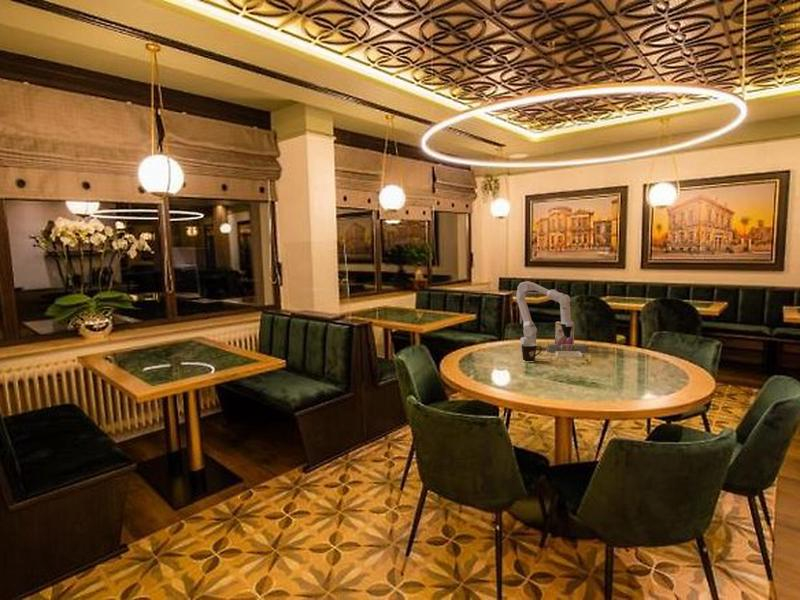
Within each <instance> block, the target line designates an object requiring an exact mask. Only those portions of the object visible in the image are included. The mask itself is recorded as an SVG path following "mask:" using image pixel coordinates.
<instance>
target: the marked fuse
mask: <svg viewBox="0 0 800 600" xmlns="http://www.w3.org/2000/svg"><path fill="white" fill-rule="evenodd" d="M560 347H561V351H572V344H561V346H560Z"/></svg>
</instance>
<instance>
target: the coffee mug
mask: <svg viewBox="0 0 800 600" xmlns="http://www.w3.org/2000/svg"><path fill="white" fill-rule="evenodd" d="M521 347H522V349H521V354H522V361H523V360H525V361H536V356H537V355H539V354H541V352H542V350H543V349H542V347H541V346H540V345H537V343H536V344H533V343H523V344H521ZM537 348H540V350H539V351H538V352H537Z"/></svg>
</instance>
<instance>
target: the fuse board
mask: <svg viewBox="0 0 800 600" xmlns="http://www.w3.org/2000/svg"><path fill="white" fill-rule="evenodd" d="M545 349H546V350H545V351H546V352H545V354H549V353H548V346H546V348H545ZM588 350H589V348H588V346H586V353H584V354H590V353H589V351H588ZM559 351H561V346H559ZM572 351H575V346H573V347H572Z"/></svg>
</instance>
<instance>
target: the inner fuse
mask: <svg viewBox="0 0 800 600" xmlns="http://www.w3.org/2000/svg"><path fill="white" fill-rule="evenodd" d="M559 347H560V346H559V345H558V344H555V343H547V351H548V353H547V354H556V351H559Z"/></svg>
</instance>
